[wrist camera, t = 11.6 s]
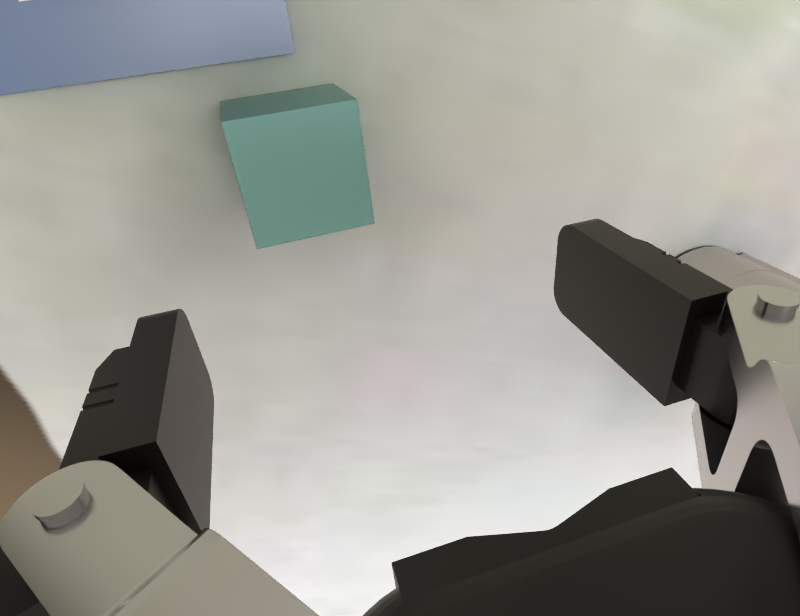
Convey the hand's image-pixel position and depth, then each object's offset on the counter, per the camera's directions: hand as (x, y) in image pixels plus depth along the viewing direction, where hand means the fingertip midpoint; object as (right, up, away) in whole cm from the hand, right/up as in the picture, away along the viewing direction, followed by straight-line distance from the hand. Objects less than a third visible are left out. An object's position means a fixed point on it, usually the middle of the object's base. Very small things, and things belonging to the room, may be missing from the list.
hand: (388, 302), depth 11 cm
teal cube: (-5, +7, +13) cm, 16 cm away
